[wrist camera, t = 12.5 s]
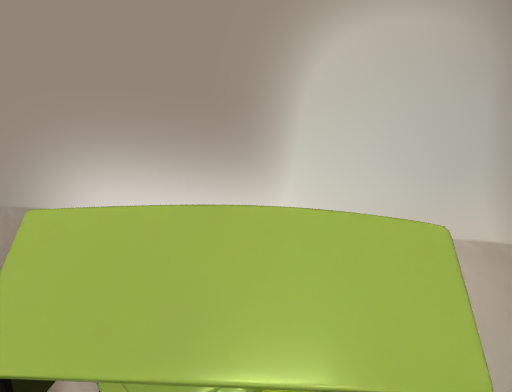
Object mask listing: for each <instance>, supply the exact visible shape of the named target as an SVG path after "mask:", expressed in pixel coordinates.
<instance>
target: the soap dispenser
mask: <svg viewBox="0 0 512 392" xmlns="http://www.w3.org/2000/svg"><path fill="white" fill-rule="evenodd" d="M0 378H3V379H28V380H52V381H76V382H97V384H98V387H99V390H100V392H493V388H492V382H491V378H490V374H489V371H488V367H487V363H486V360H485V356H484V352H483V348H482V345H481V341H480V337H479V333H478V330H477V326H476V322H475V319H474V315H473V311H472V308H471V304H470V300H469V297H468V293H467V290H466V286H465V283H464V279H463V275H462V272H461V268H460V265H459V261H458V258H457V254H456V251H455V247H454V244H453V240H452V237H451V235H450V232H449V230H447V229H446V228H445V227H443V226H440V225H435V224H431V223H424V222H419V221H412V220H406V219H398V218H392V217H384V216H376V215H368V214H359V213H351V212H342V211H333V210H321V209H309V208H295V207H277V206H253V205H149V206H116V207H115V206H113V207H87V208H85V207H84V208H60V209H36V210H28V211H27V212H26V214H25V216H24V218H23V220H22V223H21V225H20V227H19V230H18V232H17V234H16V237H15V239H14V241H13V243H12V246H11V248H10V250H9V253H8V255H7V257H6V260H5V262H4V264H3V266H2V269H1V271H0Z"/></svg>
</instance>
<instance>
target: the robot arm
mask: <svg viewBox="0 0 512 392" xmlns="http://www.w3.org/2000/svg"><path fill="white" fill-rule="evenodd" d="M54 382H55V381H52V380H28V379H3V378H0V392H47V391H48V389H49V388H50V387H51V386H52V385H53V384H54Z"/></svg>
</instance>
